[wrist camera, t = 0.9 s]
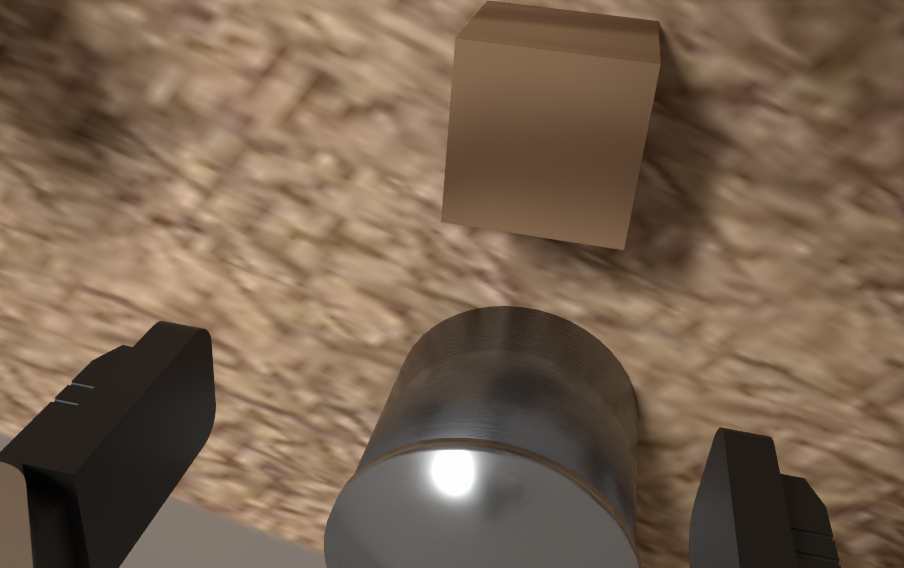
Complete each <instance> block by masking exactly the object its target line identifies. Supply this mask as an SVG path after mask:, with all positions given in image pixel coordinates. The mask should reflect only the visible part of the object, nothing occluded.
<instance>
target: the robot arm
mask: <svg viewBox="0 0 904 568" xmlns="http://www.w3.org/2000/svg"><path fill="white" fill-rule="evenodd" d="M215 412H216V401H215V386H214V371H213V356H212V342H211V337H210V334H209V332H208V331H207V330H206V329H202V328H197V327H192V326H187V325H181V324H176V323H171V322H165V321H159V322H157V323H156V324H155V325H154V326H153V327H152V328H151V329H150V330H149V331H148V332H147V333H146V334H145V335H144V336H143V337H142V338H141V339H140V340H139V341H138V342H137V343H136V344H135V345H134V346H133V347H130V346H125V345H122V346H120V347H118V348H116V349H114V350H112V351H110V352H108V353H106V354H104V355H102V356H100V357H98V358H96V359H95V360H93V361H91V362H90V363H89V364H88V365H87V366H86V367H85V368H84V369H83V370H82V371H81V372H80V373H79V374H78V375H77V376H76V377H75V378H74V379H73V380H72V384H71V386H70V385H67V386H66V387H65V388H64V389H63V390H62V391H61V392H60V393H59V394H58V395H57V396H56V397H55V401H54V402H50V403H49V404H48V405H47V406H46V407H45V408H44V409H43V410H42V411H41V412H40V413H39V414H38V415H37V416H36V417H35V418H34V419H33V420H32V421H31V422H30V423H29V424H28V425H27V426H26V427H25V428H24V429H23V430H22V431H21V432H20V433H19V434H18V435H17V436H16V437H15V438H14V439H13V440H12V441H11V442H10V443H9V444H8V445H7V446H6V447H5V448H4V449H3V450H2V451H1V452H0V568H119V567H120V565H121V564H122V562H123V561H124V560H125V558H126V557H127V555H128V554H129V552H130V551H131V550H132V548H133V546H134V545H135V544H136V542H137V541H138V539H139V538H140V537H141V535H142V534H143V532H144V531H145V529H146V528H147V527H148V525H149V524H150V522H151V521H152V519H153V518H154V517H155V515H156V514H157V512H158V511H159V509H160V508H161V507H162V505H163V504H164V502H165V501H166V499H167V498H168V497H169V495H170V494H171V492H172V491H173V489H174V488H175V487H176V485H177V484H178V482H179V481H180V479H181V478H182V476H183V475H184V474H185V472H186V471H187V469H188V468H189V466H190V465H191V464H192V462H193V461H194V459H195V458H196V456H197V455H198V454H199V452H200V451H201V449H202V448H203V446H204V445H205V443H206V442H207V440H208V438H209V435H210V433H211V430H212V427H213V423H214V419H215ZM832 538H833V533H832V529H831V525H830V521H829V517H828V513H827V509H826V506H825V505H824V504H823V502H822V501H821V500H820V498H819V497H818V496H817V494H816V493H815V492H814V490H813V489H812V488H811V486H810V485H809V484H808V482H807V481H806V480H805V478H799V477H794V476H789V475H784V474H780V471H779V466H778V461H777V456H776V451H775V445H774V441H773V439H772V438H771V437H769V436H764V435H758V434H753V433H748V432H742V431H737V430H732V429H726V428H721V427H720V428H719V429H718V430H717V432H716V434H715V437H714V440H713V443H712V446H711V450H710V453H709V456H708V460H707V463H706V466H705V469H704V473H703V476H702V479H701V483H700V486H699V489H698V492H697V496H696V499H695V502H694V506H693V511H692V516H691V523H690V532H689V554H690V568H841V566H840V565H838V562H839V557H838V553H837V549H836V545H835V541H832Z"/></svg>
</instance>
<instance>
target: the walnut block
mask: <svg viewBox="0 0 904 568" xmlns="http://www.w3.org/2000/svg"><path fill="white" fill-rule="evenodd" d="M660 66H661V60H660V43H659V25H658V21H653V20H645V19H636V18H628V17H620V16H611V15H603V14H595V13H587V12H578V11H570V10H562V9H553V8H545V7H537V6H528V5H520V4H512V3H504V2H495V1H487V2H486V3H485V4H484V5H483V6H482V8H481V9H480V10H479V11H478V12H477V14H476V15H475V16H474V17H473V18H472V19H471V21H470V22H469V23H468V24H467V25H466V27H465V28H464V29H463V30H462V31H461V33H460V34H459V35H458V36H457V37H456V39H455V51H454V64H453V77H452V90H451V103H450V116H449V129H448V141H447V154H446V167H445V180H444V193H443V206H442V219H441V222H445V223H452V224H458V225H465V226H471V227H477V228H484V229H490V230H497V231H503V232H510V233H516V234H522V235H529V236H535V237H542V238H548V239H555V240H561V241H567V242H574V243H580V244H587V245H593V246H600V247H606V248H612V249H619V250H624V248H625V243H626V238H627V233H628V228H629V223H630V218H631V212H632V207H633V202H634V197H635V192H636V187H637V182H638V177H639V172H640V167H641V162H642V157H643V152H644V147H645V142H646V137H647V132H648V127H649V122H650V116H651V111H652V106H653V101H654V96H655V91H656V86H657V81H658V76H659V71H660Z"/></svg>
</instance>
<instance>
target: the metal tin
mask: <svg viewBox="0 0 904 568" xmlns="http://www.w3.org/2000/svg"><path fill="white" fill-rule="evenodd" d="M637 440H638V410H637V401H636V397H635V393H634V389H633V386H632V384H631V382H630V379H629V377H628V375H627V373H626V372H625V370H624V368H623V367H622V365H621V363H620V362H619V361H618V360H617V358H616V357H615V356H614V355H613V353H612V352H611V351H610V350H609V349H608V348H607V347H606V346H605V345H604V344H603V343H602V342H601V341H600V340H598V339H597V338H596V337H594V336H593V335H592V334H590V333H589V332H588V331H586V330H585V329H583V328H581V327H579V326H578V325H576V324H574V323H572V322H570V321H568V320H566V319H563V318H561V317H559V316H556V315H553V314H550V313H547V312H543V311H540V310H535V309H530V308H524V307H512V306H497V307H485V308H479V309H474V310H470V311H467V312H463V313H460V314H457V315H455V316H453V317H450V318H448V319H446V320H444V321H442V322H441V323H439V324H438V325H436V326H434V327H433V328H431V329H430V330H429V331H428V332H427V333H426V334H424V335H423V336H422V337H421V338H420V339H419V340H418V342H417V343H416V344H415V345H414V346H413V347H412V349H411V351H410V352H409V354H408V355H407V357H406V359H405V361H404V364H403V366H402V368H401V370H400V373H399V375H398V377H397V379H396V382H395V384H394V386H393V388H392V391H391V393H390V395H389V397H388V400H387V402H386V404H385V406H384V409H383V411H382V413H381V415H380V418H379V420H378V422H377V425H376V427H375V429H374V431H373V434H372V436H371V438H370V440H369V443H368V445H367V447H366V449H365V452H364V454H363V456H362V458H361V461H360V463H359V465H358V467H357V470H356V472H355V474H354V475H353V476H352V477H351V478H350V479H349V480H348V482H347V483H346V484H345V486H344V487H343V489H342V491H341V492H340V494H339V495H338V497H337V500H336V502H335V504H334V506H333V509H332V511H331V513H330V516H329V518H328V521H327V525H326V530H325V535H324V554H325V560H326V566H327V568H641V564H640V558H639V554H638V550H637V547H636V497H637Z"/></svg>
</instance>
